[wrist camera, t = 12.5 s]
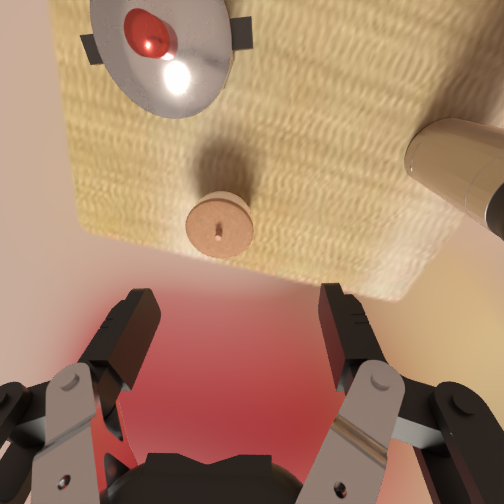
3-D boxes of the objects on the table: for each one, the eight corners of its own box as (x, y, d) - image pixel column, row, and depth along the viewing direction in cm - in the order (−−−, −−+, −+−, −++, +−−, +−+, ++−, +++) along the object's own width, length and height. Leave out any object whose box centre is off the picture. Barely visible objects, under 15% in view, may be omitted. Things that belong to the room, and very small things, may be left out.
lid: (224, -67, 21) (211, -118, 15) (238, 113, 29) (233, 122, 23) (74, -52, 22) (11, -94, 16) (128, 119, 30) (98, 129, 24)
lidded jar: (205, 238, 48) (194, 268, 40) (188, 186, 42) (172, 211, 34) (258, 231, 47) (258, 261, 39) (248, 177, 41) (246, 200, 33)
